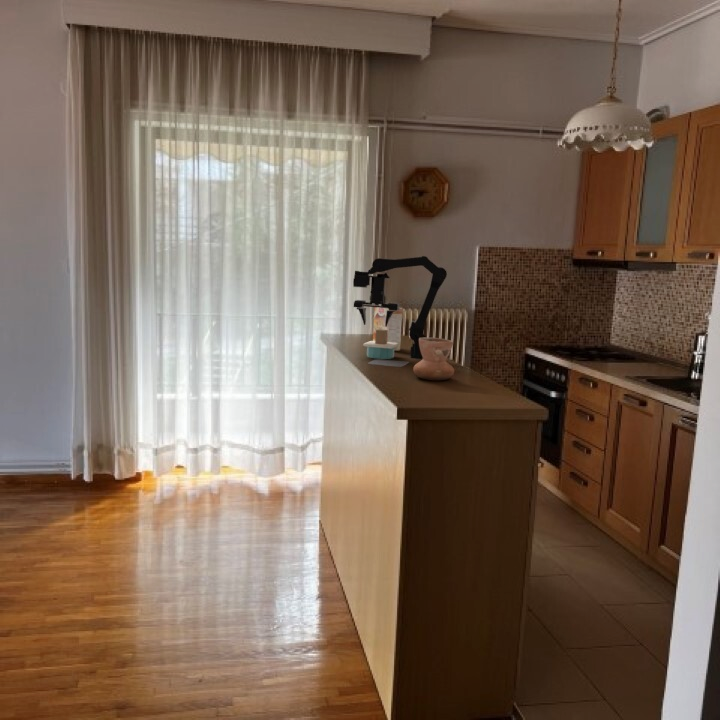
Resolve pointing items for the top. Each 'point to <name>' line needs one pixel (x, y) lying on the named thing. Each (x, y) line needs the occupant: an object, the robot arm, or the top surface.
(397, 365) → the mat
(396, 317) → the coffeecake box
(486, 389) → the top surface
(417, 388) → the top surface
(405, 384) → the top surface
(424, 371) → the ceramic jug
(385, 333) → the lid
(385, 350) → the bowl
